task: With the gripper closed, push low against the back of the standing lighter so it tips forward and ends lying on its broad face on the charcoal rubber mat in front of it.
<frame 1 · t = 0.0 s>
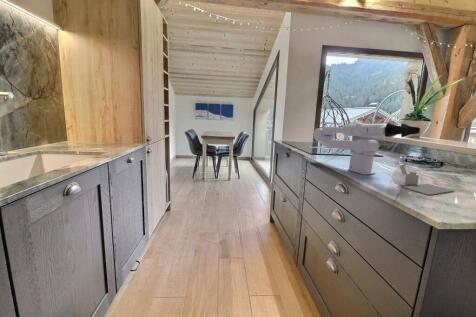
hand: (413, 130, 93), 22 cm above the countertop, tool horizontal, fingers open, 7 cm apart
mat: (427, 189, 91), on the countertop
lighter: (406, 184, 98), on the countertop
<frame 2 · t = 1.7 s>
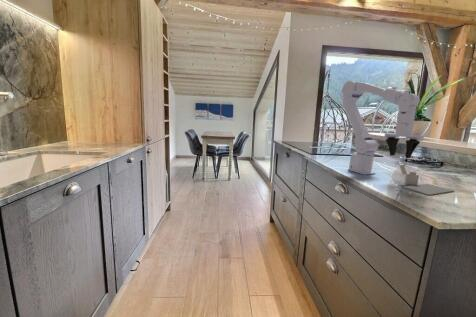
hand: (399, 156, 100), 10 cm above the countertop, tool pointing down, fingers open, 6 cm apart
nothing on the countertop moved.
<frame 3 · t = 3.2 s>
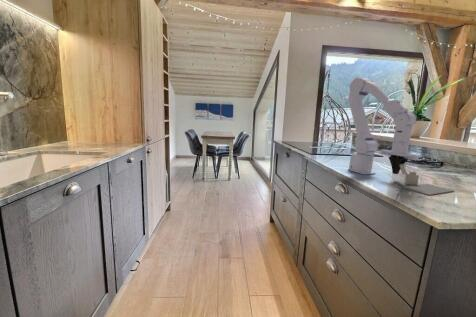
hand: (395, 173, 102), 3 cm above the countertop, tool pointing down, fingers closed
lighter: (406, 184, 98), on the countertop, touching gripper
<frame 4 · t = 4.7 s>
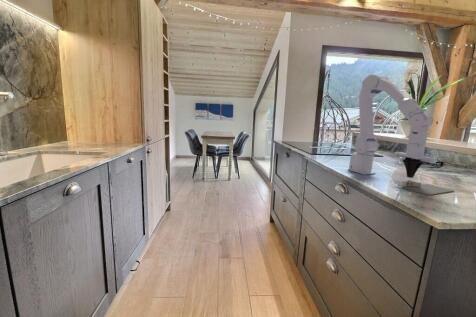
hand: (410, 177, 97), 3 cm above the countertop, tool pointing down, fingers closed
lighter: (406, 181, 98), point 1 cm above the countertop, touching mat
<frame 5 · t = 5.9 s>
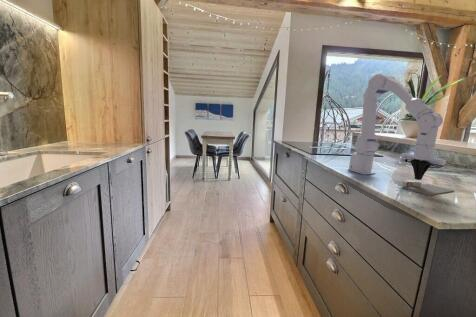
hand: (418, 179, 94), 3 cm above the countertop, tool pointing down, fingers closed
nothing on the countertop moved.
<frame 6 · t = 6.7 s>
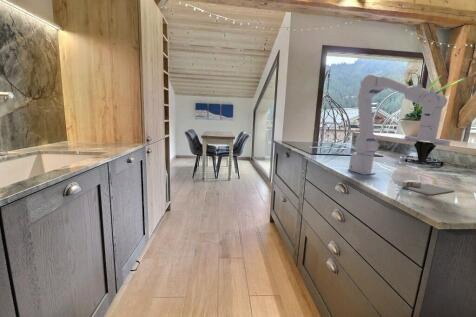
hand: (421, 161, 93), 10 cm above the countertop, tool pointing down, fingers closed
nothing on the countertop moved.
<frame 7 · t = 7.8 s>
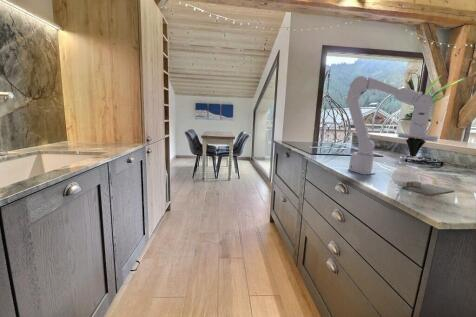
hand: (412, 156, 103), 10 cm above the countertop, tool pointing down, fingers closed
nothing on the countertop moved.
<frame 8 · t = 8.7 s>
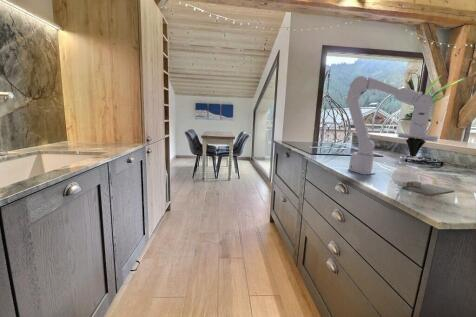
hand: (412, 156, 103), 10 cm above the countertop, tool pointing down, fingers closed
nothing on the countertop moved.
at the end: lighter tilted 84°; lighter touching mat, countertop; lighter inside the target area (4.2 cm from its centre), point 0.8 cm above the countertop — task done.
